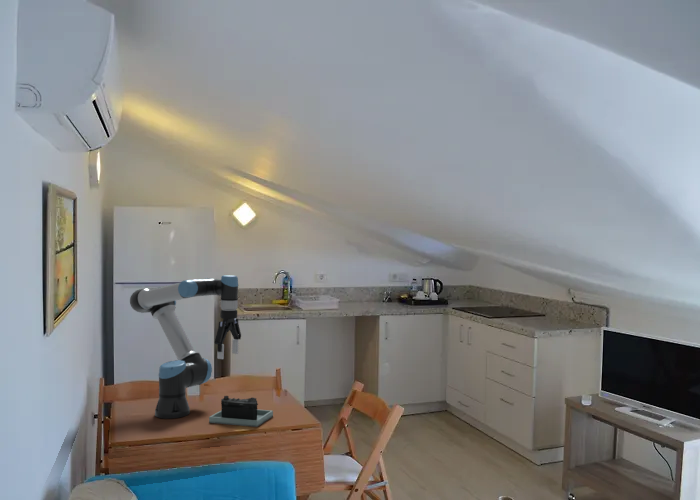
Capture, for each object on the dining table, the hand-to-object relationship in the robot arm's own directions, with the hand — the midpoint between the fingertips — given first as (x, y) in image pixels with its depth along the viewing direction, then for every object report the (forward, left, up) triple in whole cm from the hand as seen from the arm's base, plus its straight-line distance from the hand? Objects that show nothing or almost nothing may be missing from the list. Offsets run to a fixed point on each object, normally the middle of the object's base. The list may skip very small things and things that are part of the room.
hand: (227, 356), depth 268 cm
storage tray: (+10, -6, -26) cm, 29 cm away
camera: (+10, -6, -26) cm, 28 cm away
